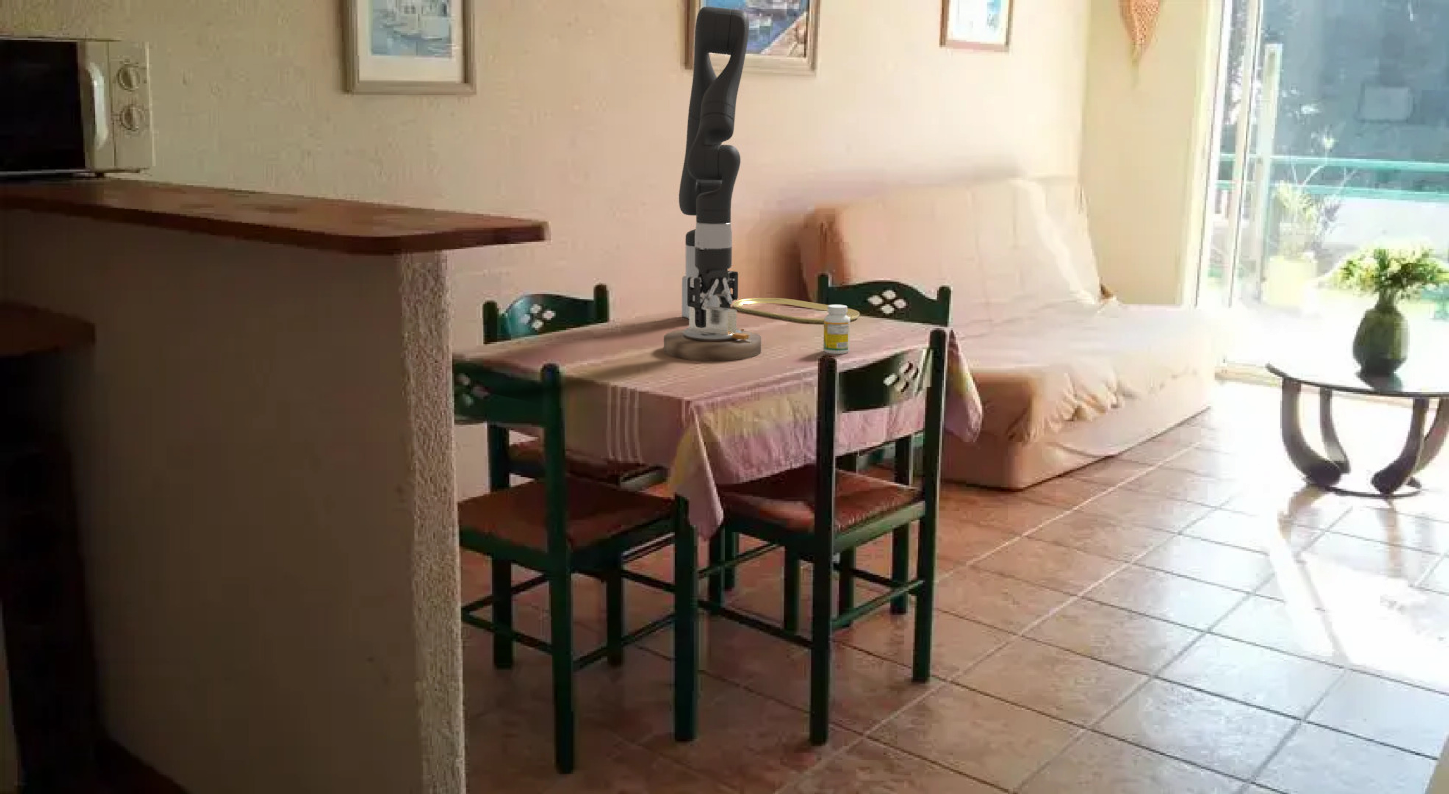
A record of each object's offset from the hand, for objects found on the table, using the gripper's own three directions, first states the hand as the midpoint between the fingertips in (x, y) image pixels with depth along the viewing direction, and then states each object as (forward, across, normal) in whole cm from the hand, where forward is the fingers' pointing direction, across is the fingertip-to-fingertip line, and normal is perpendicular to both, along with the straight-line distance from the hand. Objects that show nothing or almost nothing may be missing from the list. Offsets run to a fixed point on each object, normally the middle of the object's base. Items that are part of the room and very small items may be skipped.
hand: (712, 324), depth 265 cm
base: (+6, 0, 0) cm, 6 cm away
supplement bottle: (+6, -16, +20) cm, 26 cm away
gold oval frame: (+6, -50, -14) cm, 52 cm away
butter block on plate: (+2, 0, +1) cm, 3 cm away
